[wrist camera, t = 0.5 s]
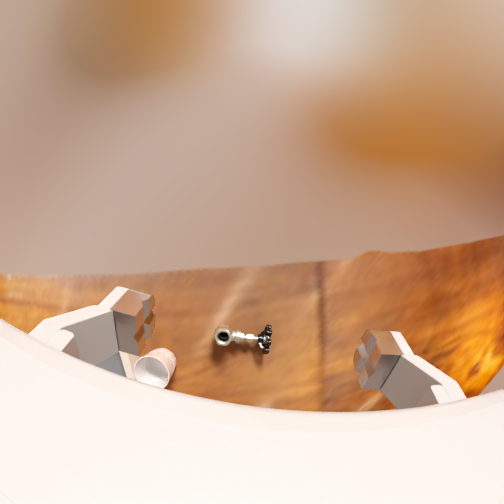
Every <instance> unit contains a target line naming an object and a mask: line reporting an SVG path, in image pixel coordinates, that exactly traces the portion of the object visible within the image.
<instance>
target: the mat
mask: <svg viewBox="0 0 504 504" xmlns="http://www.w3.org/2000/svg"><path fill="white" fill-rule="evenodd" d="M95 366H97V367H100V368H102V369H105V370H108V371H110V372H113V373H116V374H119V375H121V376H124V377H127V376H126V373H125V370H124V367H123V363H122V360H121V356H120V353H119V352H118V353H116V354H114V355H112V356H111V357H109V358H107V359H105V360H104V361H102V362H100V363H98V364H96V365H95Z"/></svg>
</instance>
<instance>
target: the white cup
mask: <svg viewBox="0 0 504 504" xmlns="http://www.w3.org/2000/svg"><path fill="white" fill-rule="evenodd" d="M175 367H176V358H175V356H174V354H173V353H172V352H171V351H169V350H168V349H165V348H157V349H155V350H153V351H151V352H149V353H147V354H146V355H144V356H142V357H141V358H139V359H138V360H137V361H136V363H135V365H134V375H135V378H136V380H137V381H140V382H143V383H146V384H150V385H153V386H157V387H160V388H165V387H166V386H167V384H168V382H169V380H170V378H171V377H172V375H173V372H174V369H175Z"/></svg>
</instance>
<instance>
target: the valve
mask: <svg viewBox="0 0 504 504" xmlns="http://www.w3.org/2000/svg"><path fill="white" fill-rule="evenodd" d="M220 332H226V333H227V334H228V335H229V336H227V337H222V336H221V335H220V334H219V333H220ZM264 334H266V335H264ZM271 335H272V330H271V325H267V326H266V327H265V331H263V332H261V334H258V336H253V334H247V335H245V334H244V333H241V330H237V331H233V330H232V329H231V328H230V326H229V325H220V326H219V327H217V328H216V330H215V332H214V338H215V340H216V342H217V344H218V345H223V346H227V345H228V344H229V343H230V342H231V341H235V343H240V341H243V340H246V342H253V341H257V343H259V347H260V348H261V349H265V350H264V351H263V354H268V353H269V350H270V349H269V345H271V340H270V337H271ZM262 344H263V346H262Z"/></svg>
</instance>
